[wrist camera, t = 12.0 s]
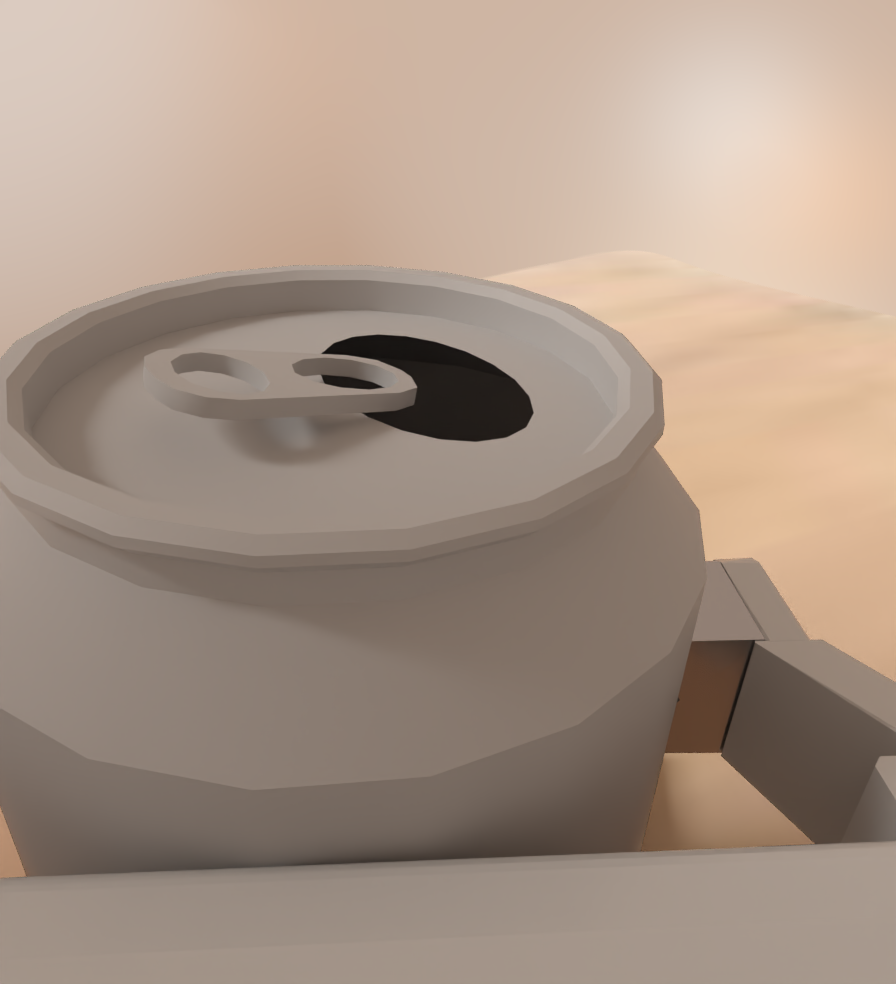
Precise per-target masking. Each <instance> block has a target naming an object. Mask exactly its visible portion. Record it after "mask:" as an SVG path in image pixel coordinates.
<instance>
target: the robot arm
mask: <svg viewBox="0 0 896 984" xmlns="http://www.w3.org/2000/svg"><path fill="white" fill-rule="evenodd" d="M705 563H706V572H707V580H706V584H705V588H704V592H703V596H702V601H701V605H700V609H699V613H698V617H697V621H696V625H695V629H694V634H693V638H692V642H691V646H690V650H689V654H688V658H687V662H686V666H685V671H684V675H683V679H682V683H681V687H680V691H679V695H678V699H677V704H676V708H675V712H674V716H673V720H672V724H671V728H670V732H669V737H668V741H667V745H666V749H665V753H722V754H721V756H722V757H723V758H724V759H725V760H726V761H727V762H728V763H729V764H730V765H731V766H732V767H734V768H735V769H736V770H737V771H738V772H739V773H740V774H741V775H742V776H743V777H744V778H745V779H746V780H747V781H749V782H750V783H751V784H752V785H753V786H754V787H755V788H756V789H757V790H758V791H759V792H760V793H761V794H762V795H764V796H765V797H766V798H767V799H768V800H769V801H770V802H771V803H772V804H773V805H774V806H775V807H776V808H777V809H779V810H780V811H781V812H782V813H783V814H784V815H785V816H786V817H787V818H788V819H789V820H790V821H791V822H792V823H794V824H795V825H796V826H797V827H798V828H799V829H800V830H801V831H802V832H803V833H804V834H805V835H806V836H807V837H808V838H810V839H811V840H812V841H813V842H814V843H815V844H809V845H785V846H762V847H738V848H715V849H692V850H669V851H645V852H620V853H594V854H569V855H544V856H519V857H493V858H468V859H443V860H418V861H394V862H370V863H346V864H322V865H298V866H274V867H250V868H226V869H202V870H178V871H154V872H130V873H106V874H82V875H58V876H33V877H9V878H0V984H896V682H894V681H892V680H890V679H889V678H887V677H885V676H884V675H882V674H880V673H878V672H877V671H875V670H873V669H871V668H870V667H868V666H866V665H865V664H863V663H861V662H859V661H858V660H856V659H854V658H853V657H851V656H849V655H847V654H846V653H844V652H842V651H840V650H839V649H837V648H835V647H834V646H832V645H830V644H828V643H827V642H825V641H823V640H810V639H809V637H808V636H807V634H806V633H805V631H804V630H803V628H802V627H801V625H800V624H799V622H798V621H797V619H796V618H795V616H794V615H793V613H792V611H791V610H790V608H789V607H788V605H787V604H786V602H785V601H784V599H783V598H782V596H781V595H780V593H779V592H778V590H777V589H776V587H775V586H774V584H773V583H772V581H771V580H770V578H769V577H768V575H767V574H766V572H765V571H764V569H763V568H762V566H761V565H760V563H759V562H758V561H756V560H754V559H753V558H740V559H717V560H713V561H705Z"/></svg>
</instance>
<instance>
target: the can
mask: <svg viewBox="0 0 896 984" xmlns="http://www.w3.org/2000/svg"><path fill="white" fill-rule="evenodd" d="M664 425H665V424H664V408H663V393H662V380H661V378H660V377H659V376H658V375H657V374H656V372H655V371H654V370H653V369H652V368H651V366H650V365H649V364H648V363H647V362H646V360H645V359H644V358H643V357H642V356H641V355H640V353H639V352H638V351H637V350H636V349H635V347H634V346H633V345H632V344H631V343H630V342H629V340H628V339H627V338H626V337H625V336H624V335H623V334H622V333H620V332H618V331H616V330H615V329H613V328H611V327H609V326H608V325H606V324H604V323H602V322H601V321H599V320H597V319H595V318H594V317H592V316H590V315H588V314H587V313H585V312H583V311H581V310H580V309H578V308H576V307H575V306H572V305H569V304H566V303H563V302H560V301H557V300H554V299H551V298H549V297H546V296H543V295H540V294H537V293H534V292H531V291H528V290H525V289H522V288H519V287H516V286H513V285H508V284H503V283H498V282H493V281H488V280H482V279H477V278H472V277H467V276H462V275H456V274H452V273H446V272H439V271H427V270H416V269H404V268H394V267H383V266H371V265H342V266H341V265H329V266H328V265H317V266H316V265H304V266H303V265H300V266H299V265H295V266H294V265H293V266H282V267H272V268H261V269H250V270H239V271H228V272H218V273H212V274H207V275H202V276H197V277H192V278H186V279H181V280H176V281H171V282H166V283H160V284H155V285H150V286H145V287H141V288H138V289H135V290H132V291H129V292H125V293H122V294H119V295H116V296H113V297H110V298H107V299H104V300H101V301H98V302H95V303H92V304H89V305H87V306H83V307H80V308H77V309H74V310H72V311H70V312H68V313H66V314H64V315H62V316H61V317H59V318H57V319H55V320H54V321H52V322H50V323H48V324H46V325H44V326H43V327H41V328H39V329H37V330H36V331H34V332H32V333H30V334H28V335H26V336H24V337H23V338H21V339H19V340H17V341H16V342H15V343H14V344H13V345H12V346H11V347H10V348H9V349H8V350H7V351H6V353H5V354H4V355H3V356H2V357H1V358H0V807H1V809H2V812H3V815H4V817H5V820H6V822H7V825H8V828H9V830H10V833H11V836H12V838H13V841H14V844H15V846H16V849H17V852H18V854H19V857H20V860H21V862H22V865H23V868H24V870H25V873H26V876H27V877H33V876H58V875H82V874H106V873H130V872H154V871H178V870H202V869H226V868H250V867H274V866H298V865H322V864H346V863H370V862H394V861H418V860H443V859H468V858H493V857H519V856H544V855H569V854H594V853H620V852H641V848H642V844H643V840H644V835H645V831H646V827H647V823H648V819H649V815H650V811H651V807H652V802H653V798H654V794H655V790H656V786H657V782H658V778H659V774H660V769H661V765H662V761H663V757H664V753H665V749H666V745H667V741H668V737H669V732H670V728H671V724H672V720H673V716H674V712H675V708H676V704H677V699H678V695H679V691H680V687H681V683H682V679H683V675H684V671H685V666H686V662H687V658H688V654H689V650H690V646H691V642H692V638H693V634H694V629H695V625H696V621H697V617H698V613H699V609H700V605H701V601H702V596H703V592H704V588H705V584H706V580H707V572H706V563H705V555H704V547H703V539H702V530H701V522H700V514H699V510H698V508H697V507H696V505H695V504H694V502H693V501H692V500H691V498H690V497H689V495H688V494H687V492H686V491H685V490H684V488H683V487H682V485H681V484H680V483H679V481H678V480H677V478H676V477H675V475H674V474H673V473H672V471H671V470H670V468H669V467H668V465H667V464H666V463H665V461H664V460H663V458H662V457H661V456H660V454H659V453H658V452H657V450H656V449H655V448H654V445H655V444H656V443H657V441H658V440H659V439H660V437H661V436H662V435H663V430H664Z"/></svg>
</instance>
